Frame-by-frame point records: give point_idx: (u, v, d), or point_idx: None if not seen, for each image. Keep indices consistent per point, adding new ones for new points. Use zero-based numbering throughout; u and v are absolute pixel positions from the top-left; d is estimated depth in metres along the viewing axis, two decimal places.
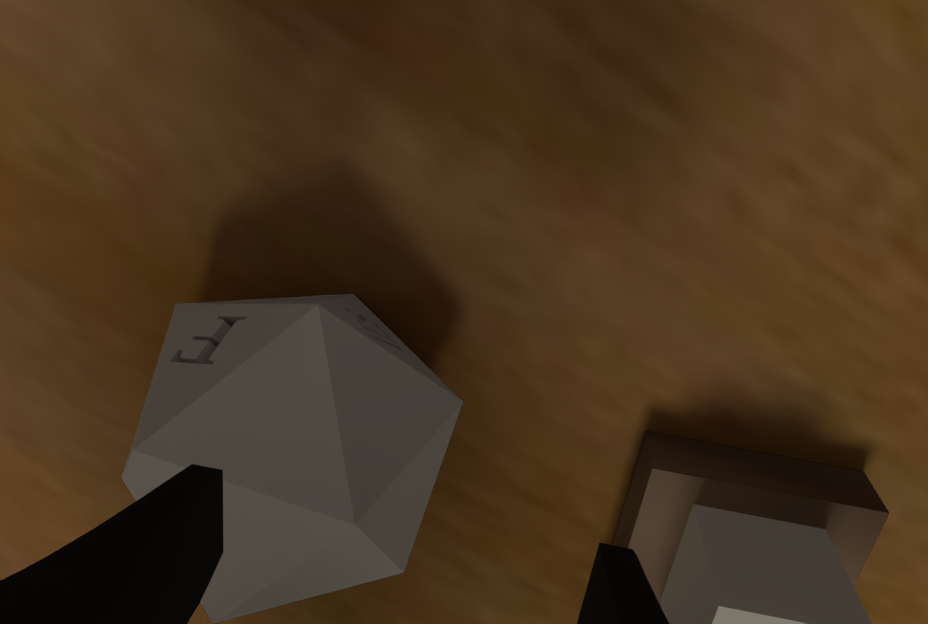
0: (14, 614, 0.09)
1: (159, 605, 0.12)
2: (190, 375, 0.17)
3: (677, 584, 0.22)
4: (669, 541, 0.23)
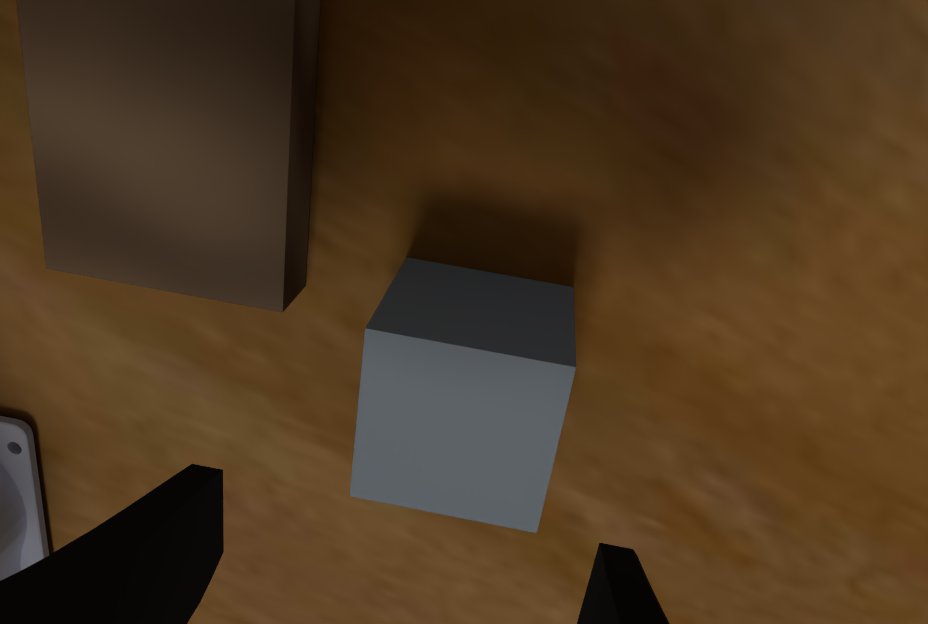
0: (14, 614, 0.09)
1: (159, 605, 0.12)
2: None
3: None
4: None
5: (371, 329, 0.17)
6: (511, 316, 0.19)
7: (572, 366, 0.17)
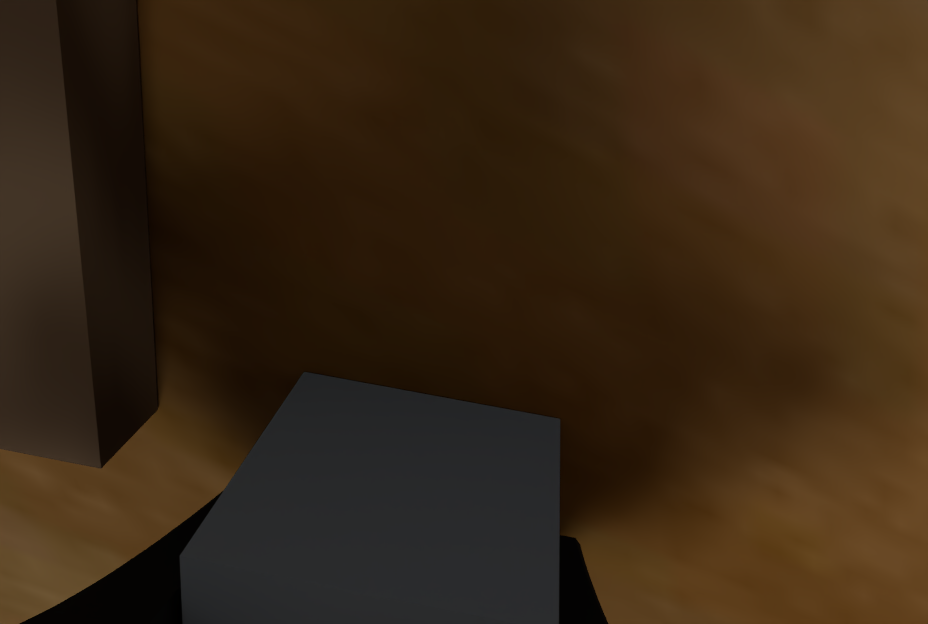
0: None
1: None
2: None
3: None
4: None
5: (192, 556, 0.09)
6: (453, 499, 0.11)
7: None
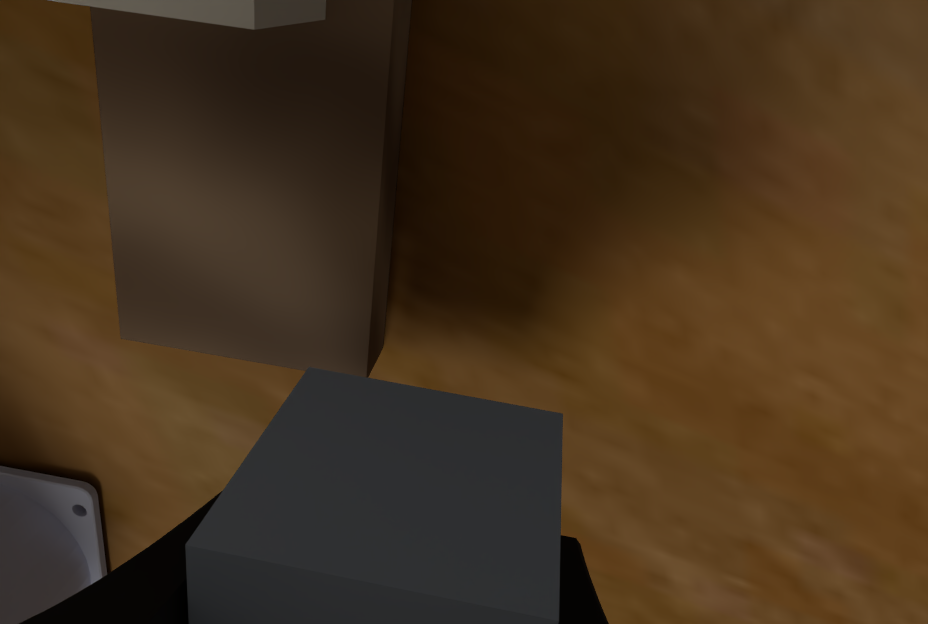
0: None
1: None
2: None
3: None
4: None
5: (197, 545, 0.10)
6: (455, 491, 0.11)
7: (552, 619, 0.09)
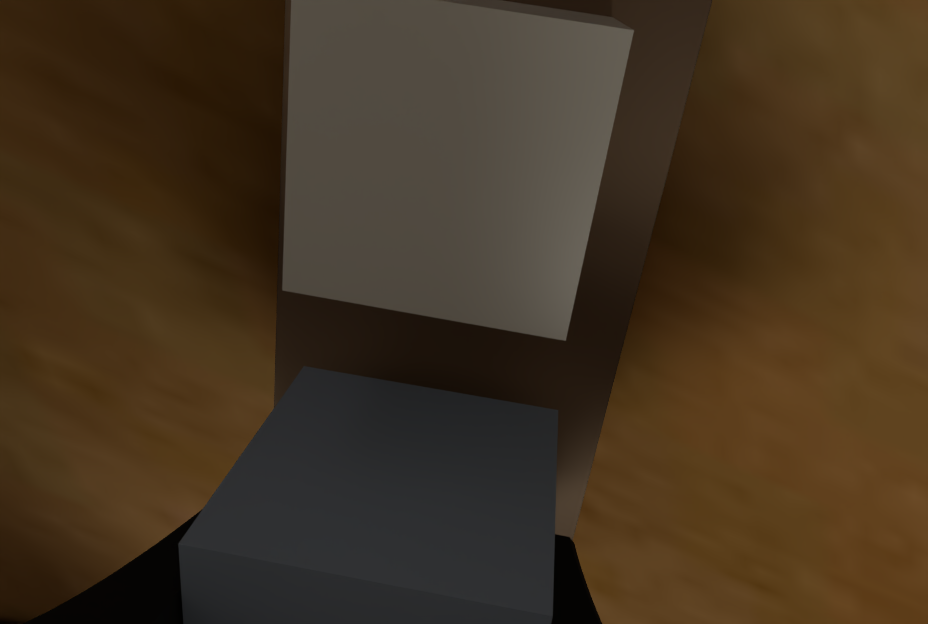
0: None
1: None
2: None
3: None
4: None
5: (190, 543, 0.10)
6: (449, 488, 0.11)
7: (546, 614, 0.09)
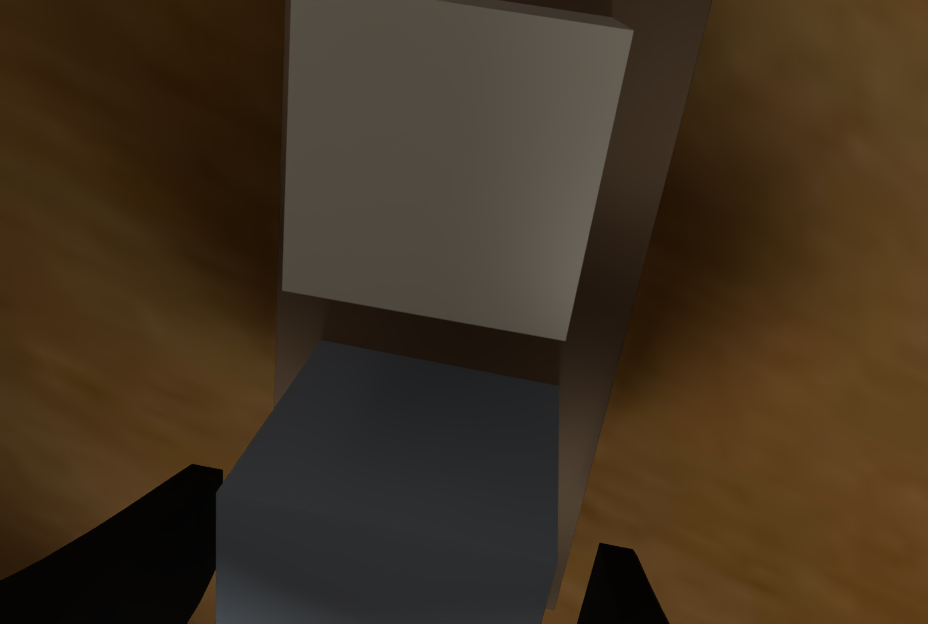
0: (14, 614, 0.09)
1: (159, 605, 0.12)
2: None
3: None
4: None
5: (227, 494, 0.10)
6: (461, 451, 0.12)
7: (551, 561, 0.10)
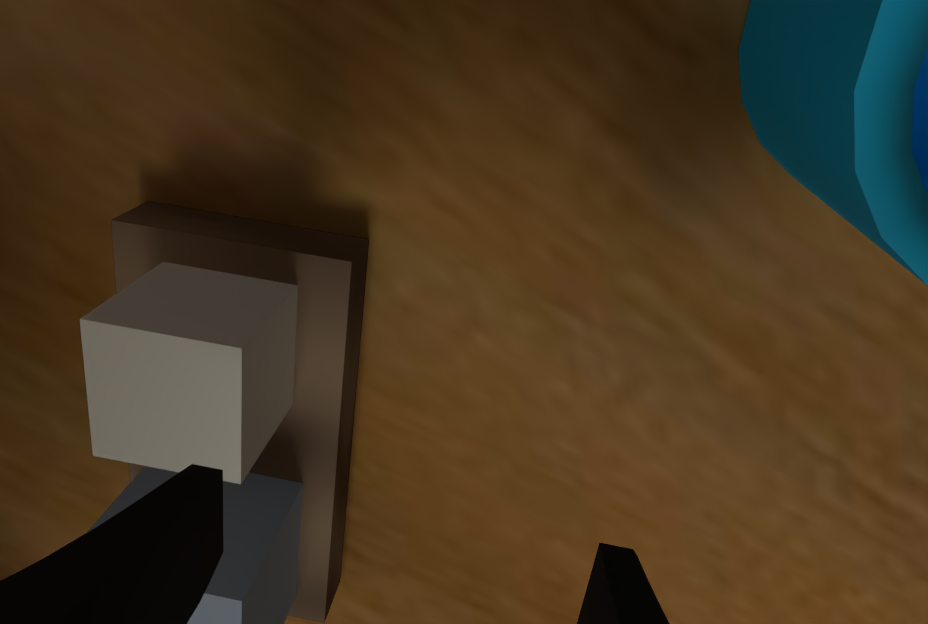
0: (14, 614, 0.09)
1: (159, 605, 0.12)
2: None
3: None
4: None
5: None
6: None
7: (239, 600, 0.19)
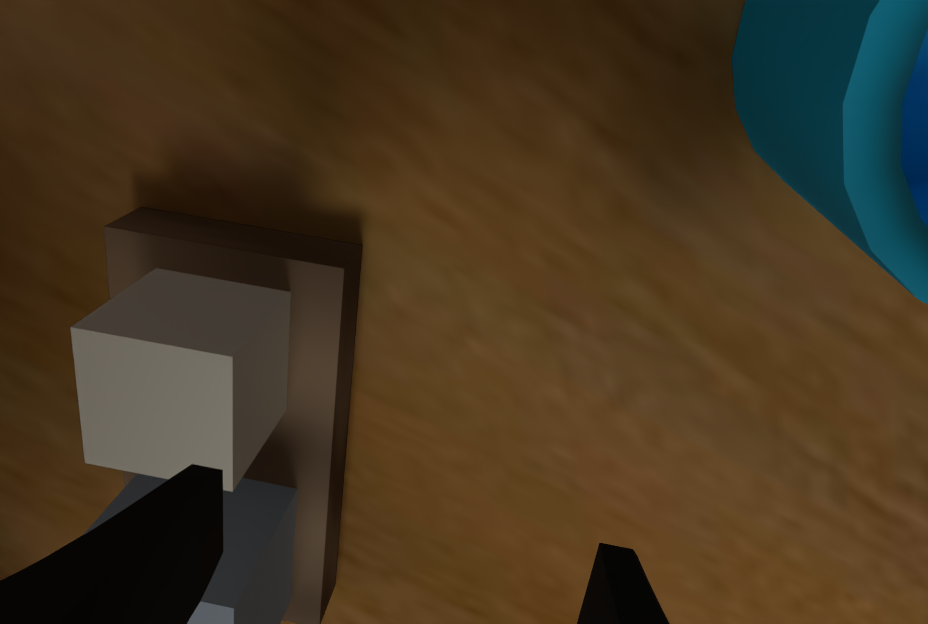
0: (14, 614, 0.09)
1: (159, 605, 0.12)
2: None
3: None
4: None
5: None
6: None
7: (231, 607, 0.19)
